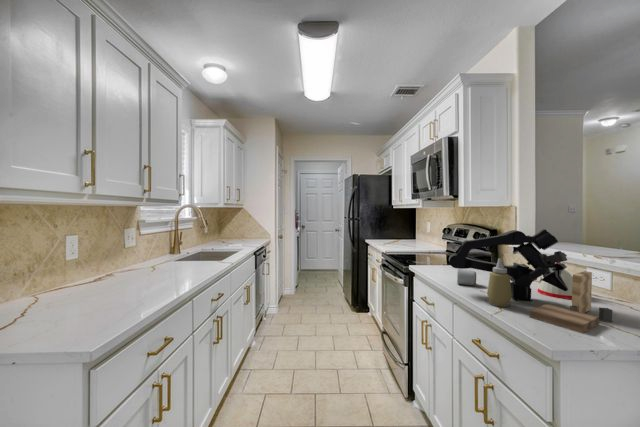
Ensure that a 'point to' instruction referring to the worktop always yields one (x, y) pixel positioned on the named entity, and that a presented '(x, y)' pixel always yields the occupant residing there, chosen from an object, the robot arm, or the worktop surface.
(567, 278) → the kitchen timer
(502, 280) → the squeeze bottle
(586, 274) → the light wooden board
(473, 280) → the ceramic mug
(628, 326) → the worktop surface
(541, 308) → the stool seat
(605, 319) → the stop block
